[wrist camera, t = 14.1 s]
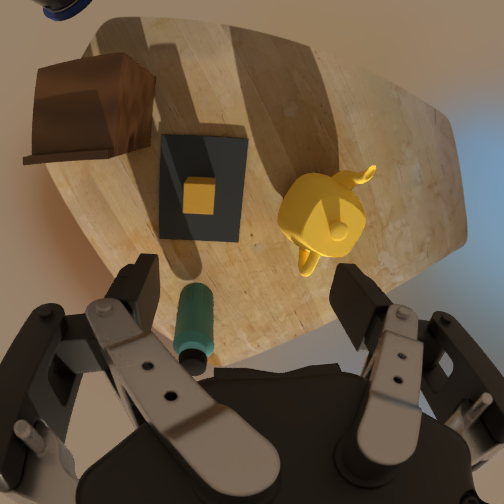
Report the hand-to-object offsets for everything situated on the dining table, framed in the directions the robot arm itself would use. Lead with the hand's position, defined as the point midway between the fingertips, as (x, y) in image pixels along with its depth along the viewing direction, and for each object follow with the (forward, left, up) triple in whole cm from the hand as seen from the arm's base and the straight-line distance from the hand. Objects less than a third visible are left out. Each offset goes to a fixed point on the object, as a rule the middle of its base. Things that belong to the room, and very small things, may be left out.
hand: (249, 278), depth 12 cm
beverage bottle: (+24, -4, -36) cm, 44 cm away
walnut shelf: (-9, -19, -36) cm, 42 cm away
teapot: (+5, +16, -36) cm, 40 cm away
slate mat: (+4, -4, -36) cm, 37 cm away
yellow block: (+4, -4, -36) cm, 36 cm away
